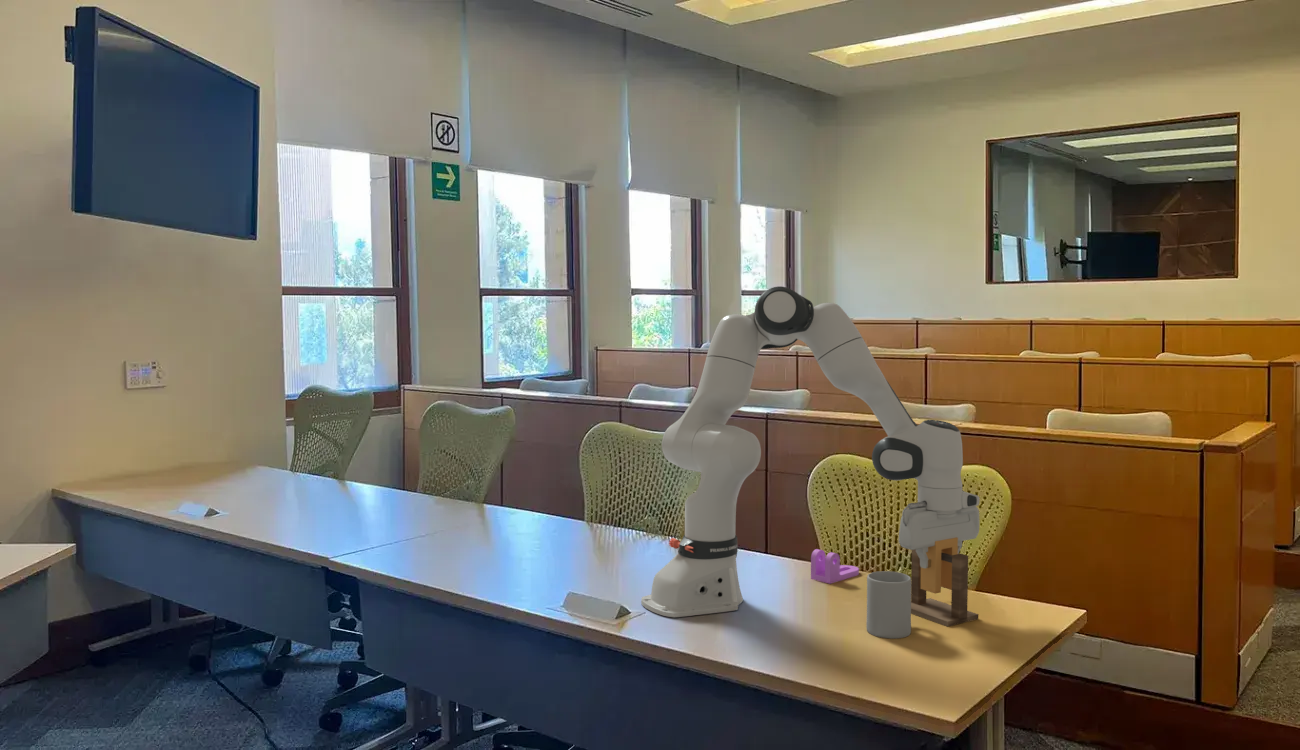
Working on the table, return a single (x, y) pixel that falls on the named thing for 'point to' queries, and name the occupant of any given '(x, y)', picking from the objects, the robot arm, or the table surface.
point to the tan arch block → (939, 566)
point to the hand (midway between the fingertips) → (938, 564)
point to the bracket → (830, 567)
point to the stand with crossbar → (935, 608)
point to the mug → (888, 604)
